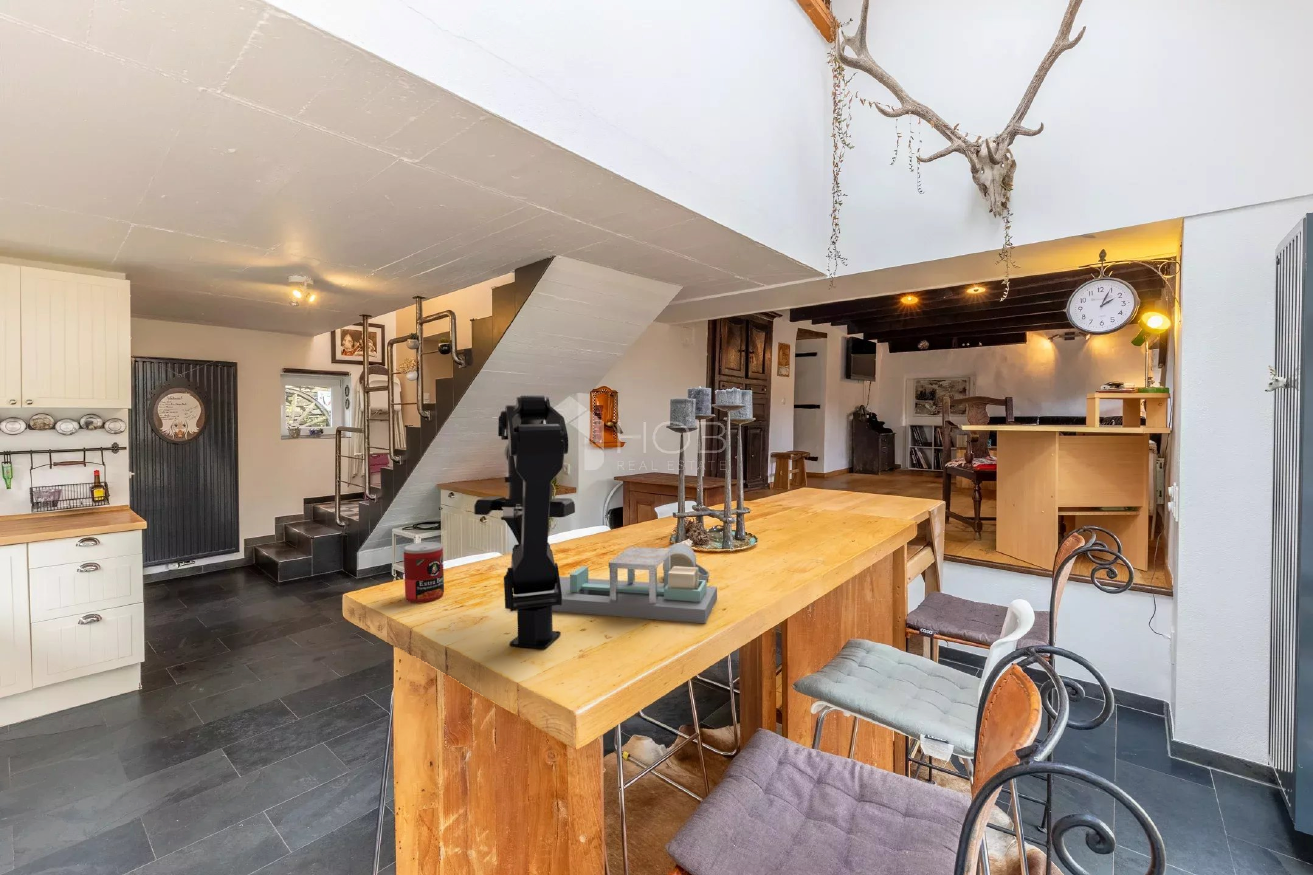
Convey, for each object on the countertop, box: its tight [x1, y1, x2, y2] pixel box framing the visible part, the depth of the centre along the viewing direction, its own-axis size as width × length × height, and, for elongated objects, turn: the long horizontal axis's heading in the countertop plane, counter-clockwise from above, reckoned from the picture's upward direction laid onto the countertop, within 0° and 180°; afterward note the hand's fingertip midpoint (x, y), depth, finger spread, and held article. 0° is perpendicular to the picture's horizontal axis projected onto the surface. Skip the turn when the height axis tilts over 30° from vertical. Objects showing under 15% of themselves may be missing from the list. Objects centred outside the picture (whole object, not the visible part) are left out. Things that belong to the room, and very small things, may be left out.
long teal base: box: [569, 566, 708, 602], centre depth 111 cm, size 7×26×4 cm, turn 75°
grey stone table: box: [608, 546, 671, 604], centre depth 111 cm, size 13×9×8 cm
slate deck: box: [513, 576, 718, 624], centre depth 112 cm, size 14×38×2 cm, turn 75°
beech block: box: [668, 566, 699, 590], centre depth 109 cm, size 5×5×5 cm
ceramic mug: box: [662, 542, 710, 582], centre depth 128 cm, size 11×8×8 cm
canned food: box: [403, 541, 445, 603], centre depth 118 cm, size 8×8×11 cm
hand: (525, 551), depth 107 cm, fingers closed
